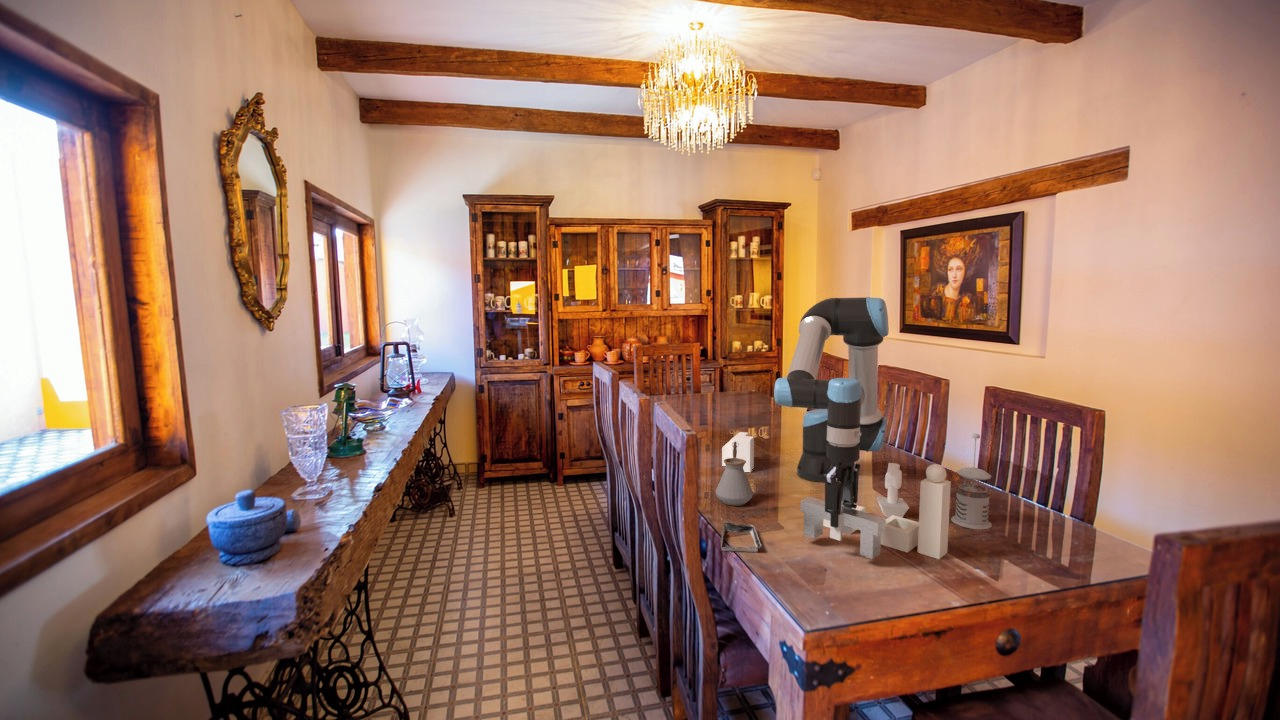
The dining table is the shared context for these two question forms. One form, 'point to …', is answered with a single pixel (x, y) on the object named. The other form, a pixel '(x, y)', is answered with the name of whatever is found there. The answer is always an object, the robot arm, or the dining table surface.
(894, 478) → the figurine
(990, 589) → the dining table surface
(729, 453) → the corner bracket
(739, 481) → the grey vase
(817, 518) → the grey bench
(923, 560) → the dining table surface
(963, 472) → the french press
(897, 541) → the headboard post
